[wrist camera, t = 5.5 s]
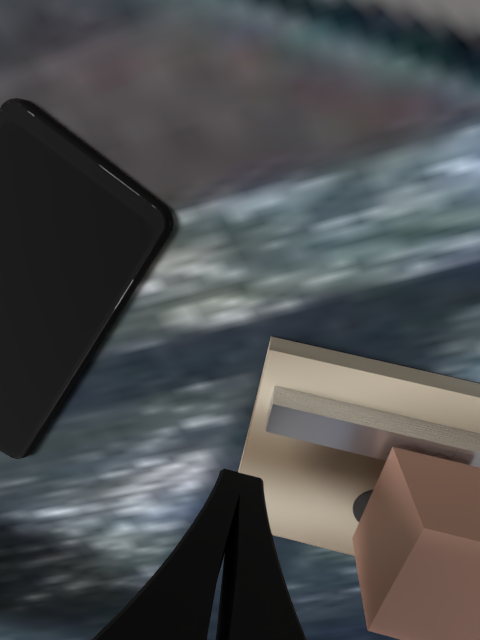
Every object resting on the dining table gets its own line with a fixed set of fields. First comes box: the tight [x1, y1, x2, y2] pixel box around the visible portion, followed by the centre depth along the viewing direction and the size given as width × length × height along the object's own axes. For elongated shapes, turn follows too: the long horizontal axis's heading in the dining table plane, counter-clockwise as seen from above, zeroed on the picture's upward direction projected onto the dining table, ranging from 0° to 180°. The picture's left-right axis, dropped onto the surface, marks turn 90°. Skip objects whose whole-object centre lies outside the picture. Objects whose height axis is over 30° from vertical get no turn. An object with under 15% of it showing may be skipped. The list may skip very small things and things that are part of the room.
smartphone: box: [0, 98, 173, 459], centre depth 15 cm, size 7×1×15 cm
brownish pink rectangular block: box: [352, 447, 480, 640], centre depth 12 cm, size 5×3×4 cm, turn 169°
